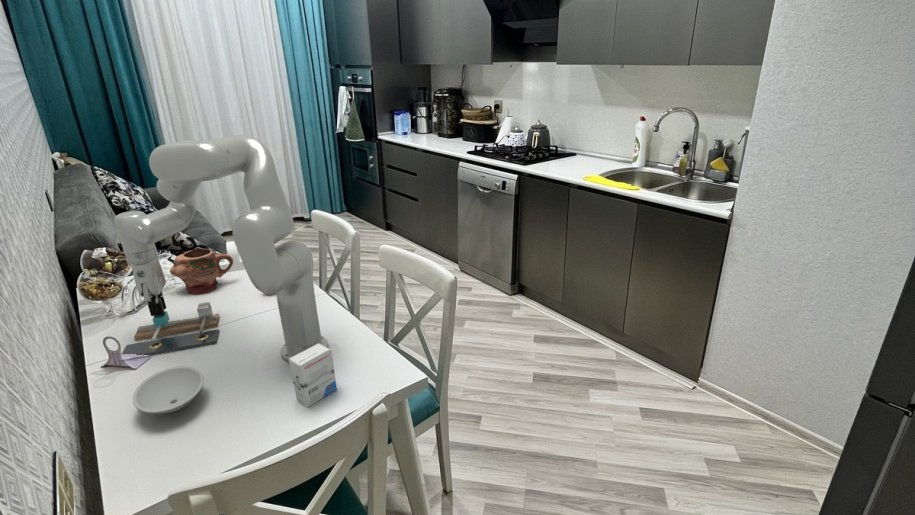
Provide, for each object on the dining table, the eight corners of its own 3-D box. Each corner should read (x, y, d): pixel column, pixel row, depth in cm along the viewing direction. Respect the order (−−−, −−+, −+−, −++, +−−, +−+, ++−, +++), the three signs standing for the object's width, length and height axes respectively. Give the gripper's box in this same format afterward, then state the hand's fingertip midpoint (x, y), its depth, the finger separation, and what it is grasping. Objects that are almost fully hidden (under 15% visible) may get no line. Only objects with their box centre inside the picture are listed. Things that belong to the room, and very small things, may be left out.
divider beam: (214, 339, 137) (209, 319, 135) (127, 354, 131) (121, 334, 128) (220, 317, 149) (215, 299, 146) (140, 330, 142) (134, 312, 140)
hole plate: (216, 343, 134) (215, 340, 134) (120, 361, 128) (118, 357, 127) (219, 331, 141) (218, 328, 140) (127, 347, 134) (126, 344, 133)
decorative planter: (235, 275, 179) (228, 241, 174) (239, 287, 169) (232, 251, 164) (176, 288, 170) (166, 252, 165) (176, 301, 160) (166, 264, 155)
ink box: (325, 381, 117) (319, 341, 113) (337, 389, 114) (331, 348, 110) (295, 399, 111) (287, 357, 106) (307, 408, 108) (299, 365, 104)
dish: (138, 395, 114) (132, 378, 112) (204, 375, 121) (199, 358, 119) (138, 440, 100) (131, 421, 98) (212, 414, 107) (207, 396, 105)
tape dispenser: (261, 267, 187) (255, 242, 183) (211, 275, 181) (204, 249, 176) (260, 259, 195) (255, 234, 191) (212, 266, 189) (206, 241, 185)
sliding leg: (160, 342, 132) (152, 315, 129) (148, 344, 132) (139, 317, 128) (170, 322, 143) (162, 296, 140) (159, 323, 142) (151, 298, 139)
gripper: (149, 263, 126) (167, 323, 133) (163, 243, 141) (178, 298, 148) (117, 267, 124) (136, 328, 131) (134, 247, 138) (151, 302, 145)
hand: (158, 311), depth 139 cm, fingers closed on sliding leg, 2 cm apart
